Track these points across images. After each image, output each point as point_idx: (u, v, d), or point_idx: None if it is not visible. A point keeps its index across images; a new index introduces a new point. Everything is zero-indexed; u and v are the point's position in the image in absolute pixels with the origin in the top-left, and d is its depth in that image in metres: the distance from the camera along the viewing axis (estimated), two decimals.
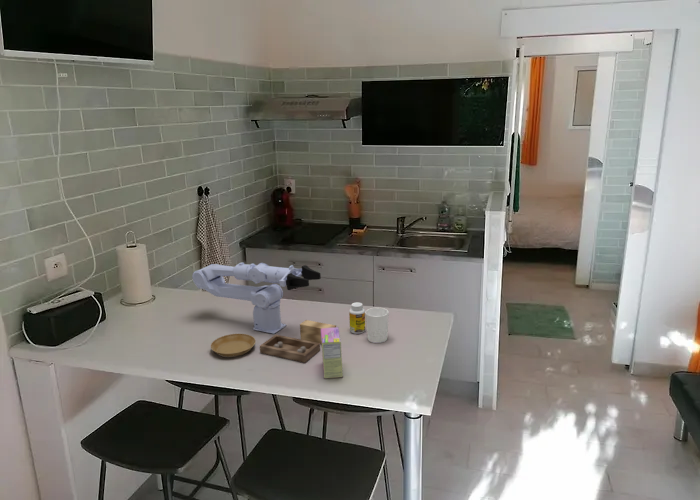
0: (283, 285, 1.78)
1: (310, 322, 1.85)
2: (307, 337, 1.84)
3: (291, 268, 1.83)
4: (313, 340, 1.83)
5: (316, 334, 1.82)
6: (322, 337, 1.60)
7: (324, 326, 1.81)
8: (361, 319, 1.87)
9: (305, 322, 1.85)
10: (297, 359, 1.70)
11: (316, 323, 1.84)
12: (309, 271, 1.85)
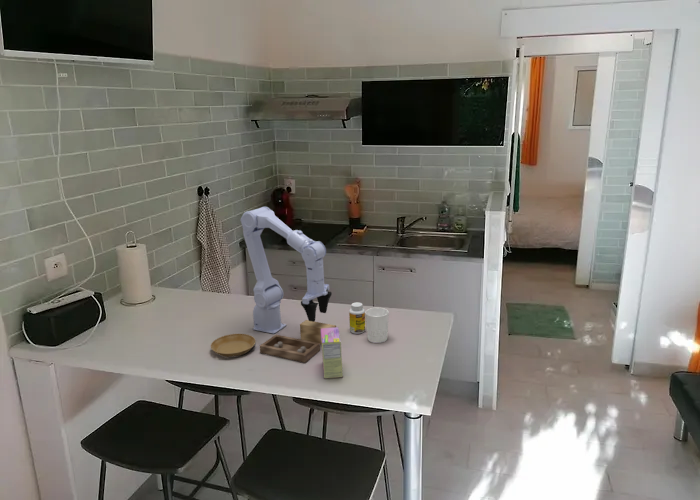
0: (303, 302, 1.74)
1: (310, 322, 1.85)
2: (307, 337, 1.84)
3: None
4: (313, 340, 1.83)
5: (316, 333, 1.82)
6: (322, 337, 1.60)
7: (324, 326, 1.81)
8: (361, 319, 1.87)
9: (305, 322, 1.85)
10: (297, 359, 1.70)
11: (316, 323, 1.84)
12: (325, 302, 1.83)
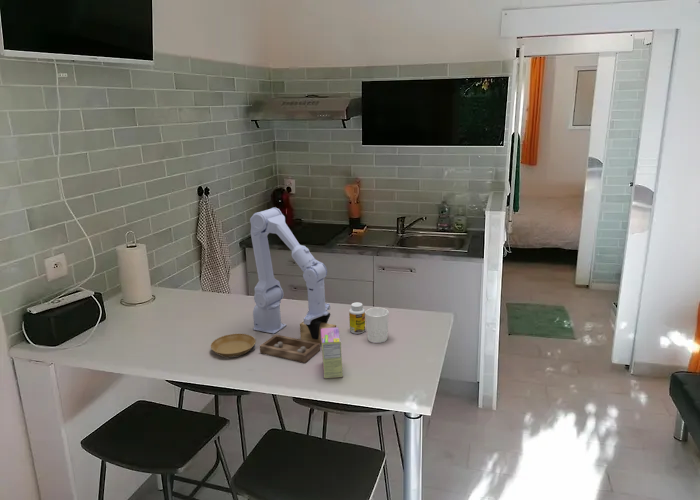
0: (304, 323, 1.76)
1: None
2: (307, 337, 1.84)
3: None
4: (313, 340, 1.83)
5: None
6: (322, 337, 1.60)
7: (324, 325, 1.81)
8: (361, 319, 1.87)
9: None
10: (297, 359, 1.70)
11: None
12: None
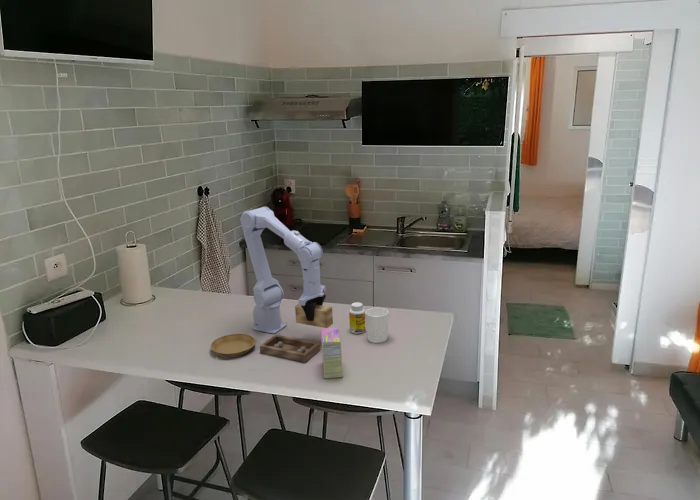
0: (299, 304, 1.73)
1: None
2: (303, 319, 1.81)
3: None
4: (309, 322, 1.80)
5: None
6: (322, 337, 1.60)
7: (320, 307, 1.79)
8: (361, 319, 1.87)
9: None
10: (297, 359, 1.70)
11: None
12: (319, 304, 1.81)
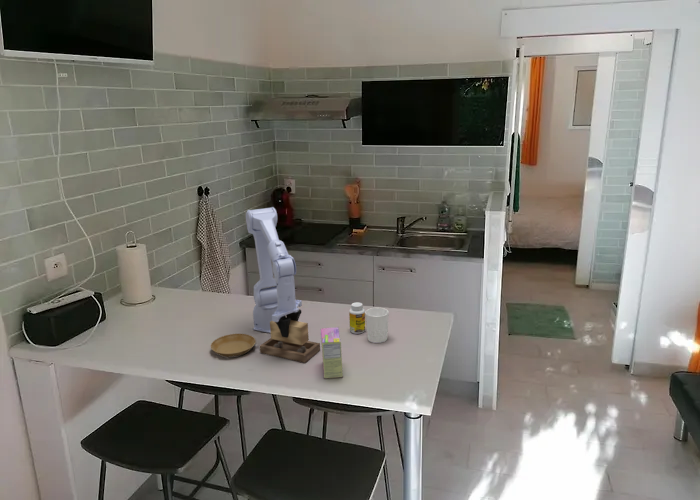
0: (273, 320, 1.67)
1: None
2: (278, 336, 1.75)
3: None
4: (284, 338, 1.74)
5: None
6: (322, 337, 1.60)
7: (295, 323, 1.73)
8: (361, 319, 1.87)
9: None
10: (297, 359, 1.70)
11: None
12: (295, 320, 1.75)
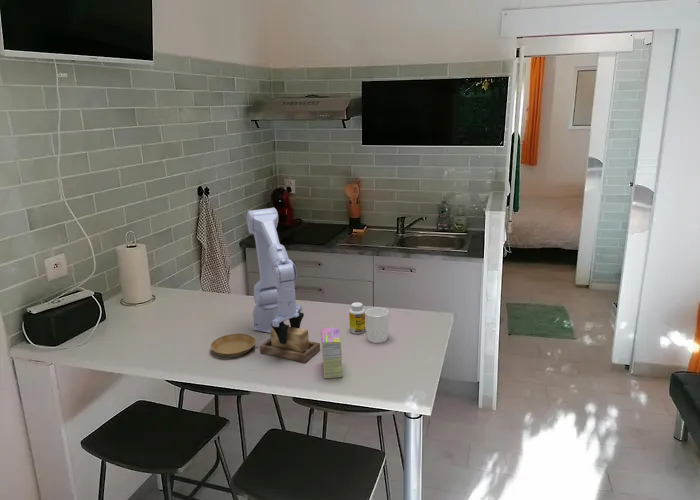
0: (273, 325, 1.68)
1: None
2: (278, 343, 1.76)
3: None
4: (284, 345, 1.75)
5: (287, 339, 1.73)
6: (322, 337, 1.60)
7: (295, 331, 1.73)
8: (361, 319, 1.87)
9: None
10: (297, 359, 1.70)
11: None
12: (297, 323, 1.77)
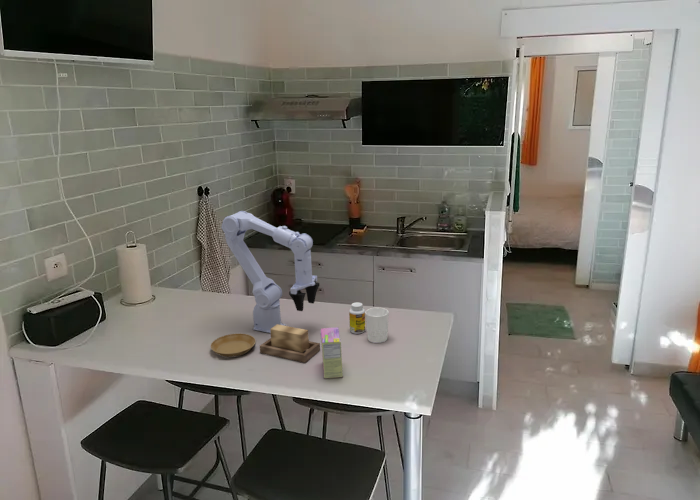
0: (291, 292, 1.80)
1: (281, 327, 1.77)
2: (278, 343, 1.76)
3: None
4: (284, 345, 1.75)
5: (287, 339, 1.73)
6: (322, 337, 1.60)
7: (295, 331, 1.73)
8: (361, 319, 1.87)
9: (276, 327, 1.77)
10: (297, 359, 1.70)
11: (287, 327, 1.76)
12: (313, 292, 1.89)
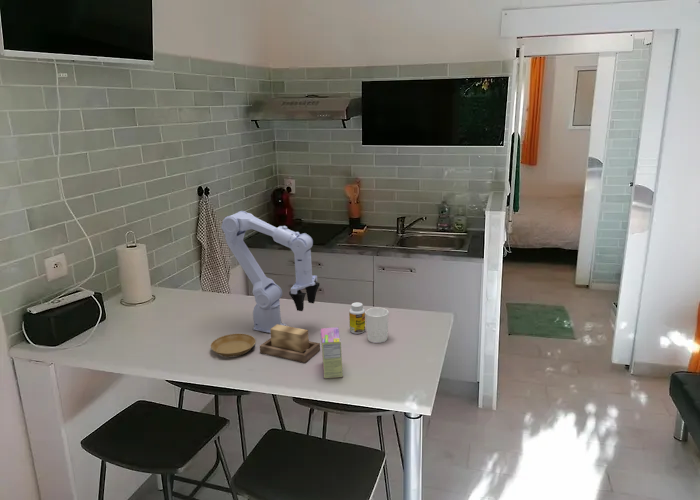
0: (291, 292, 1.80)
1: (281, 327, 1.77)
2: (278, 343, 1.76)
3: None
4: (284, 345, 1.75)
5: (287, 339, 1.73)
6: (322, 337, 1.60)
7: (295, 331, 1.73)
8: (361, 319, 1.87)
9: (276, 327, 1.77)
10: (297, 359, 1.70)
11: (287, 327, 1.76)
12: (313, 292, 1.90)
